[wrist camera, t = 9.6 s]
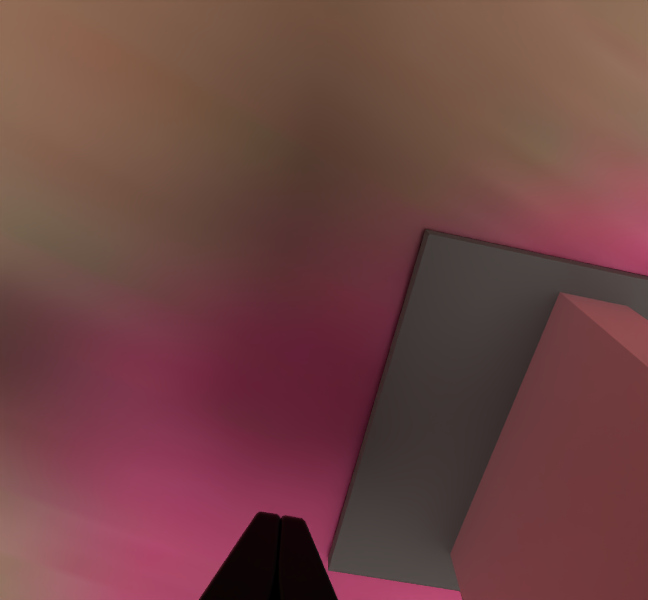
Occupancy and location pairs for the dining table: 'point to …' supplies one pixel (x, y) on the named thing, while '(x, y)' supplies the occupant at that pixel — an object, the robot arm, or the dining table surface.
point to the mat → (452, 398)
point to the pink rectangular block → (567, 469)
